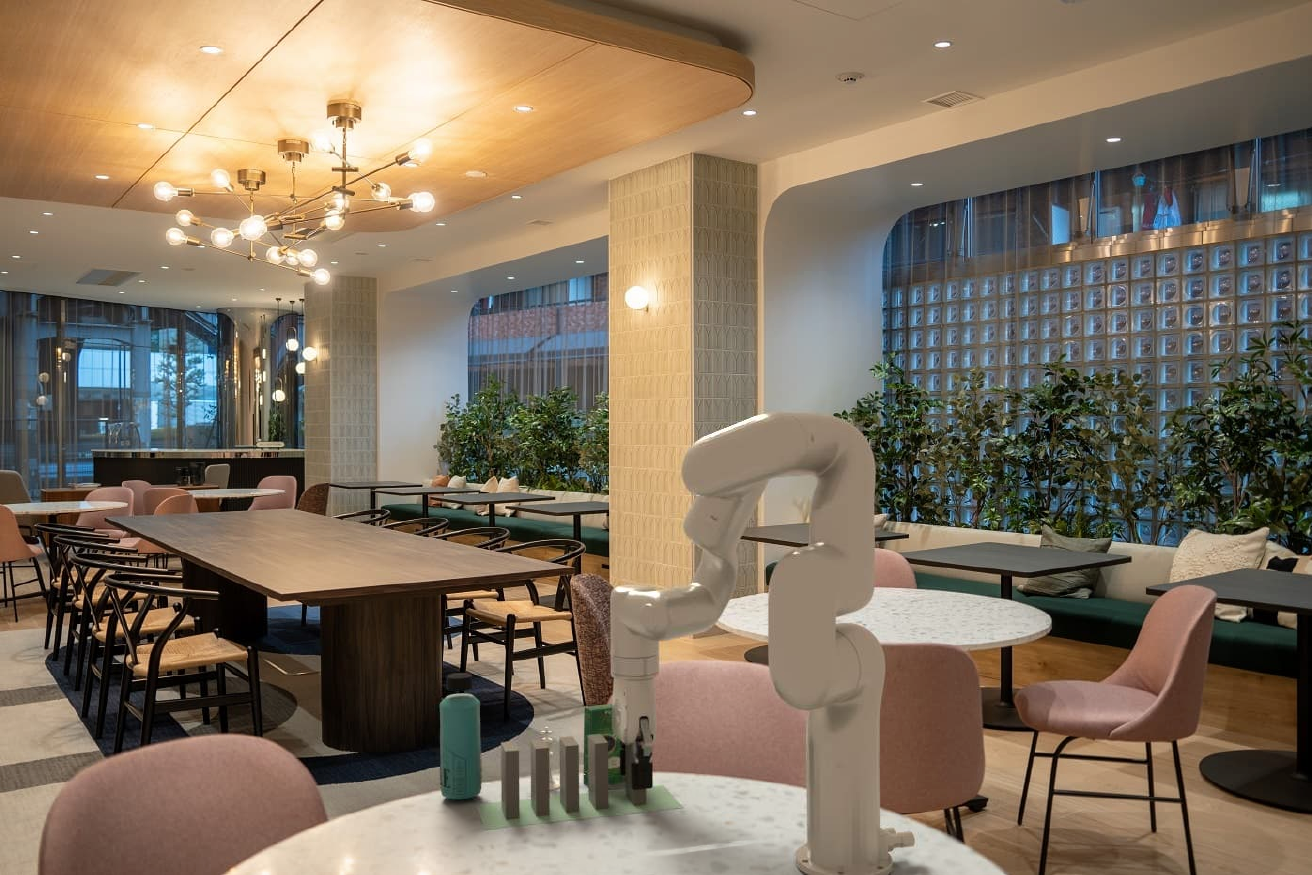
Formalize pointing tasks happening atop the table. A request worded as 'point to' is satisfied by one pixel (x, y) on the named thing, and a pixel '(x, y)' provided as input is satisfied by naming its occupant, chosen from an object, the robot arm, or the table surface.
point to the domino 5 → (633, 795)
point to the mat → (617, 803)
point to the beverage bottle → (460, 740)
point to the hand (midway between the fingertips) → (636, 780)
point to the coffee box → (601, 723)
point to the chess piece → (552, 783)
